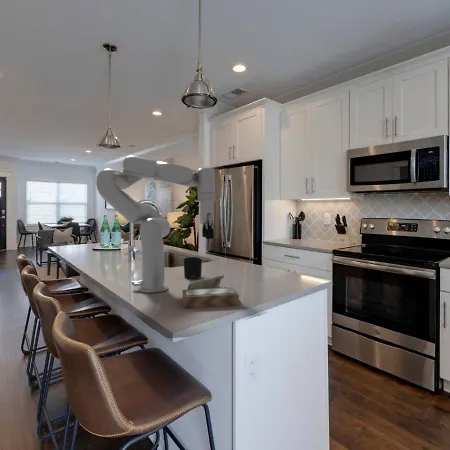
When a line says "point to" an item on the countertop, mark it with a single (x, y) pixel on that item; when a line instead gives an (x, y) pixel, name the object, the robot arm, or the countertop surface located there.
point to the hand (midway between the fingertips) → (207, 237)
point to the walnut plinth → (210, 297)
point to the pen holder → (192, 268)
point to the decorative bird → (206, 283)
